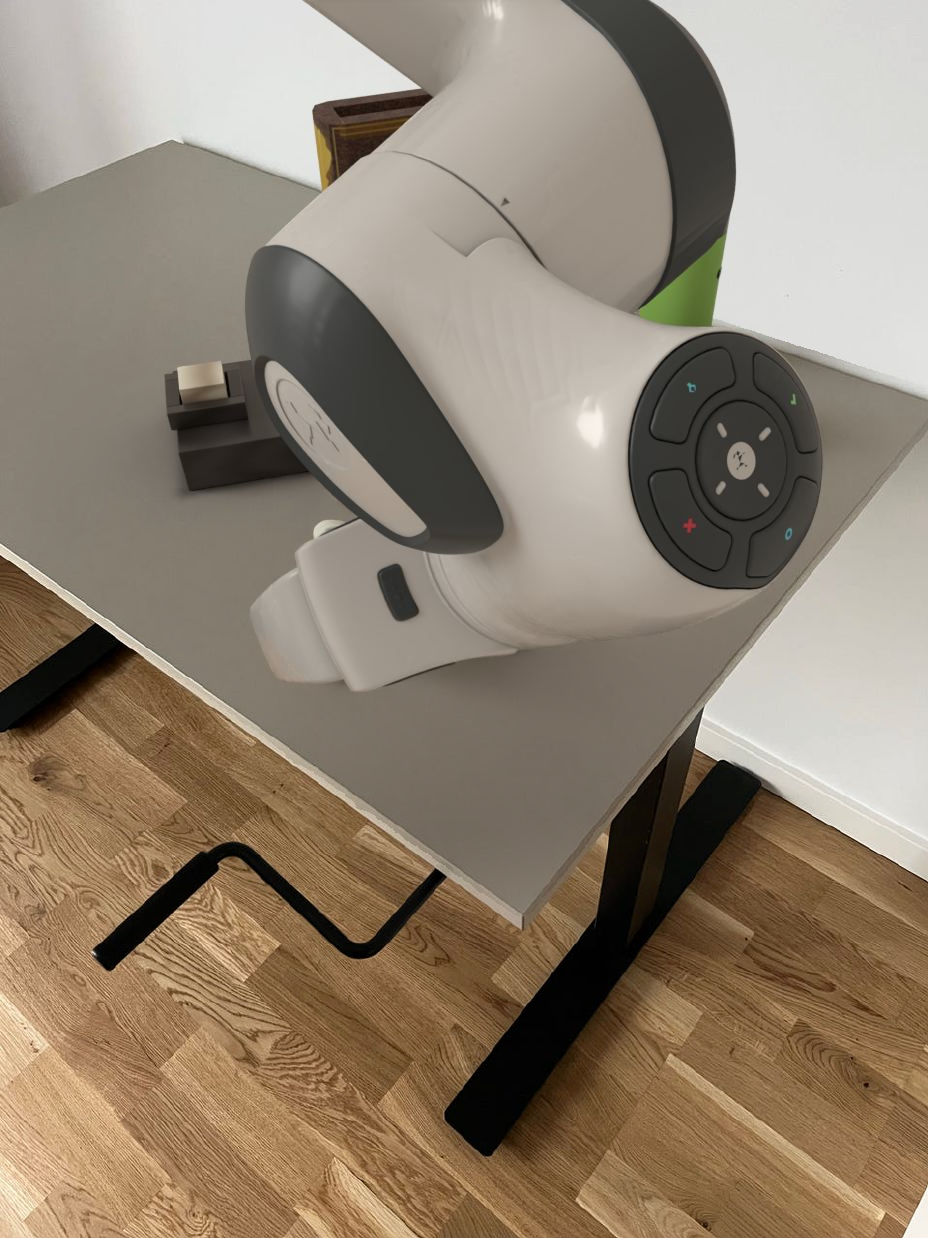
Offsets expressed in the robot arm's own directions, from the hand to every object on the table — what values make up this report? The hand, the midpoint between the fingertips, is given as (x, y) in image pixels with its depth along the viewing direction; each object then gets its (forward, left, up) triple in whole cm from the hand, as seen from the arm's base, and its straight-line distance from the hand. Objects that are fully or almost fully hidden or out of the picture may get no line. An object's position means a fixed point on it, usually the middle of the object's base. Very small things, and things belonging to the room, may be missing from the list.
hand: (417, 580), depth 54 cm
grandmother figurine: (-4, +12, -18) cm, 21 cm away
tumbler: (+35, +45, -18) cm, 60 cm away
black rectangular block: (-9, +43, -17) cm, 47 cm away
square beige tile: (-12, +43, -12) cm, 46 cm away
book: (+13, +53, -18) cm, 57 cm away
